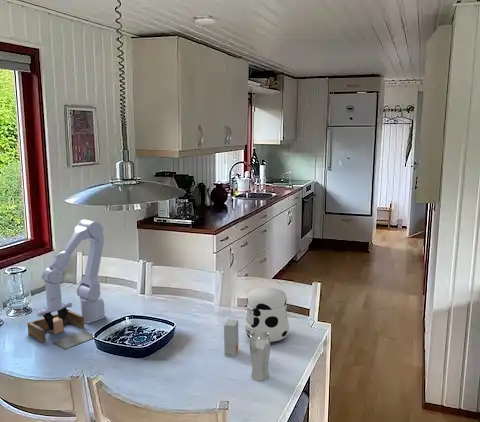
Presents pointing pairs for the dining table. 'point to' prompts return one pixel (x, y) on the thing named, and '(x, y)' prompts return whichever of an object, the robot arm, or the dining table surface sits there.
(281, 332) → the milk container
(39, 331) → the open box
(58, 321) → the terracotta block
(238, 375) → the dining table surface
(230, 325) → the skincare box
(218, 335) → the dining table surface
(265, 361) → the beer glass
